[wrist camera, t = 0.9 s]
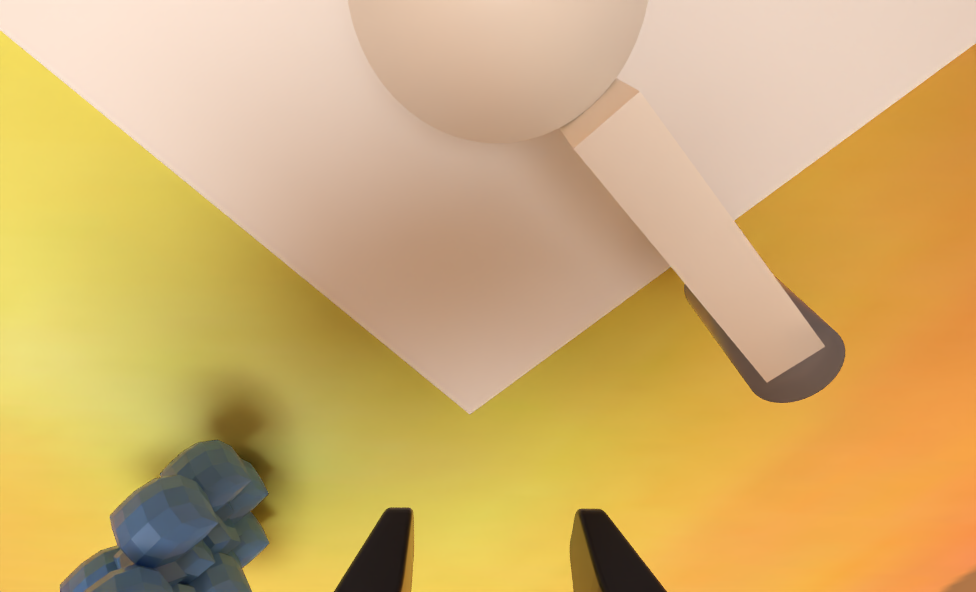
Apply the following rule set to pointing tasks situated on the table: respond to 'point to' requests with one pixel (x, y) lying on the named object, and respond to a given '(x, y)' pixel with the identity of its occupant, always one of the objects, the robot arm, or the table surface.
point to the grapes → (182, 529)
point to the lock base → (472, 151)
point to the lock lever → (599, 153)
